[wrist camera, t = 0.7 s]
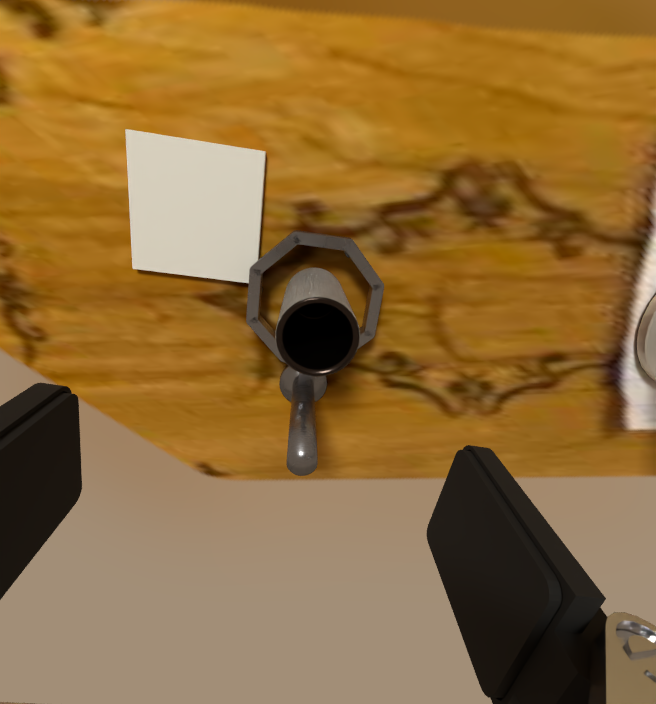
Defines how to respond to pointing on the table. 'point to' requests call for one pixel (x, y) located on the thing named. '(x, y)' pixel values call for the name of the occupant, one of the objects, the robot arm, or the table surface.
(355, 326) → the gray hollow cylinder
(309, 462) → the ring stand
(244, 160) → the coaster
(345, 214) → the table surface
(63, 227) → the table surface
